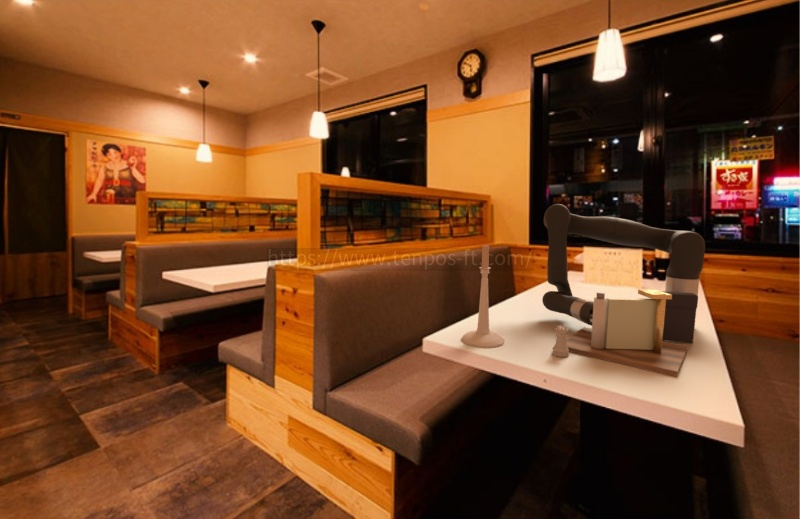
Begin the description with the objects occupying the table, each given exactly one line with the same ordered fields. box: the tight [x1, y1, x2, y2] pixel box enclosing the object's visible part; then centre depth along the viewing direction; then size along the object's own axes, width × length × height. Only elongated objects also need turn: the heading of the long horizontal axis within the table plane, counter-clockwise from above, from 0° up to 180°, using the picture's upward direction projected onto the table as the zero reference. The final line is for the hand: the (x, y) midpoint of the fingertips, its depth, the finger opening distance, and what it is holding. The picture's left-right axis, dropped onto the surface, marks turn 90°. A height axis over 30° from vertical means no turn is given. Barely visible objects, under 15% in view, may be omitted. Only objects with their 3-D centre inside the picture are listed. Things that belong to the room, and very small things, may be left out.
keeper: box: [637, 288, 672, 354], centre depth 106 cm, size 7×5×18 cm
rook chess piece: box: [551, 325, 570, 358], centre depth 105 cm, size 4×4×8 cm
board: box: [566, 326, 689, 377], centre depth 109 cm, size 24×28×1 cm
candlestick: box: [461, 244, 505, 349], centre depth 115 cm, size 13×13×30 cm
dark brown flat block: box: [662, 290, 699, 344], centre depth 117 cm, size 11×4×15 cm, turn 71°
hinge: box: [591, 292, 657, 350], centre depth 106 cm, size 18×3×16 cm, turn 85°
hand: (631, 327), depth 107 cm, fingers closed
